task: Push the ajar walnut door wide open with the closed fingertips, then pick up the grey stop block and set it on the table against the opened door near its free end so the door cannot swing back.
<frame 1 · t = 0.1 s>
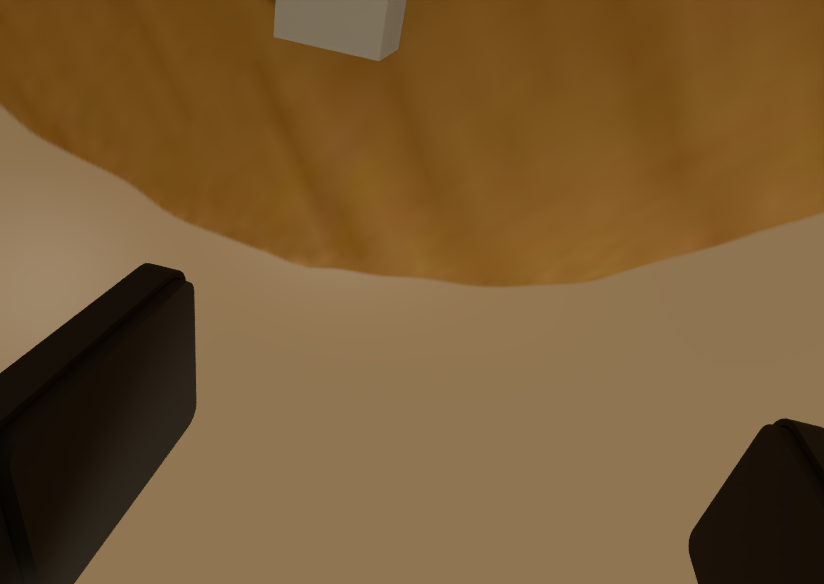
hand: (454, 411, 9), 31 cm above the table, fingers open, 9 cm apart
stop block: (357, 4, 35), on the table
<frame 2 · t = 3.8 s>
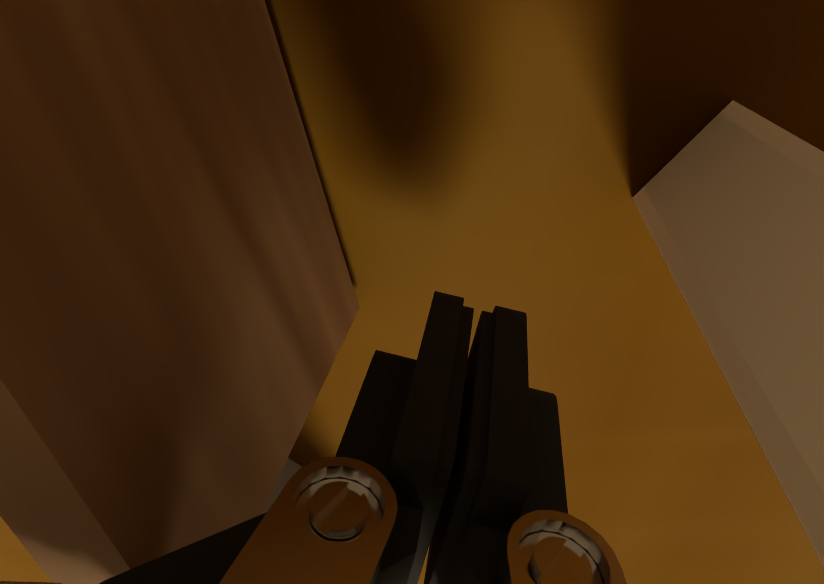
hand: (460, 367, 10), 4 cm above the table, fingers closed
stop block: (265, 490, 19), on the table
door: (78, 93, 8), point 5 cm above the table, hinge at 41.1°, touching gripper
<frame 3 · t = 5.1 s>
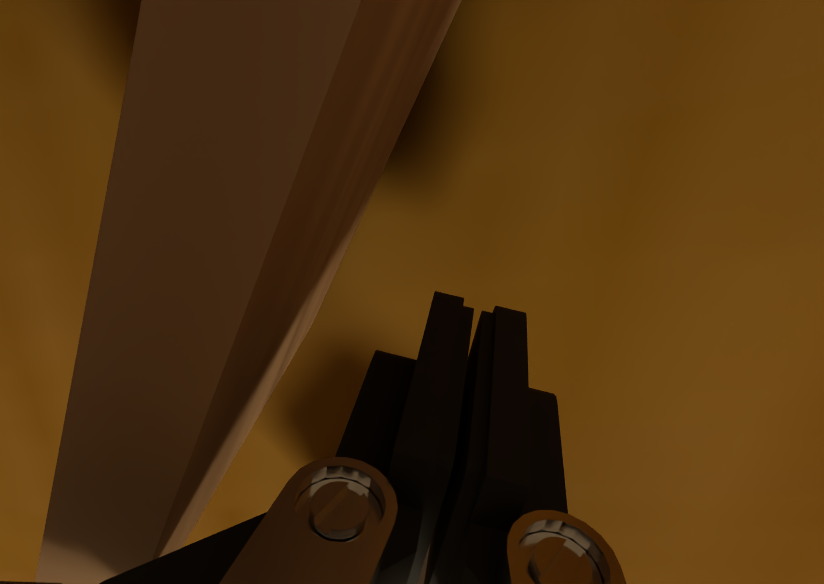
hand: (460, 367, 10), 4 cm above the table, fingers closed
door: (275, 110, 8), point 5 cm above the table, hinge at 79.3°, touching gripper
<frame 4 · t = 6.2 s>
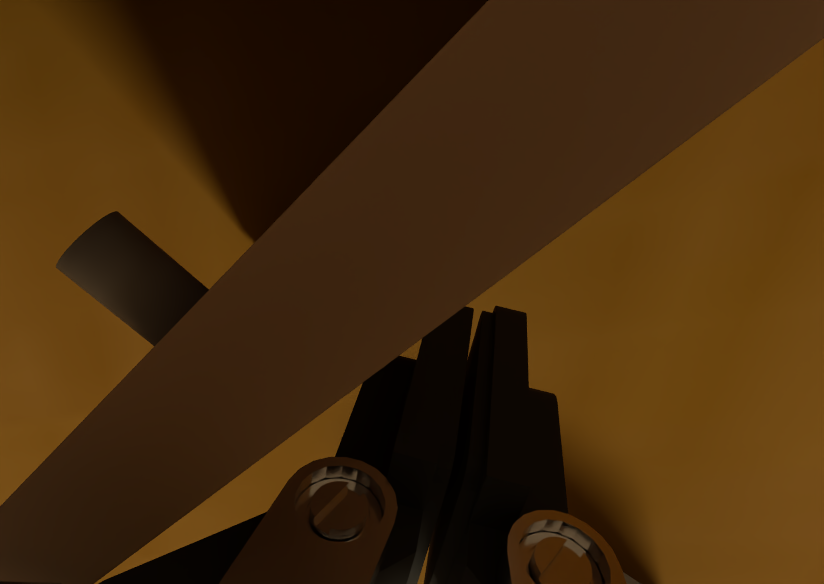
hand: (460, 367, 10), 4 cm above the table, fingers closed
door: (380, 83, 7), point 5 cm above the table, hinge at 99.7°, touching gripper
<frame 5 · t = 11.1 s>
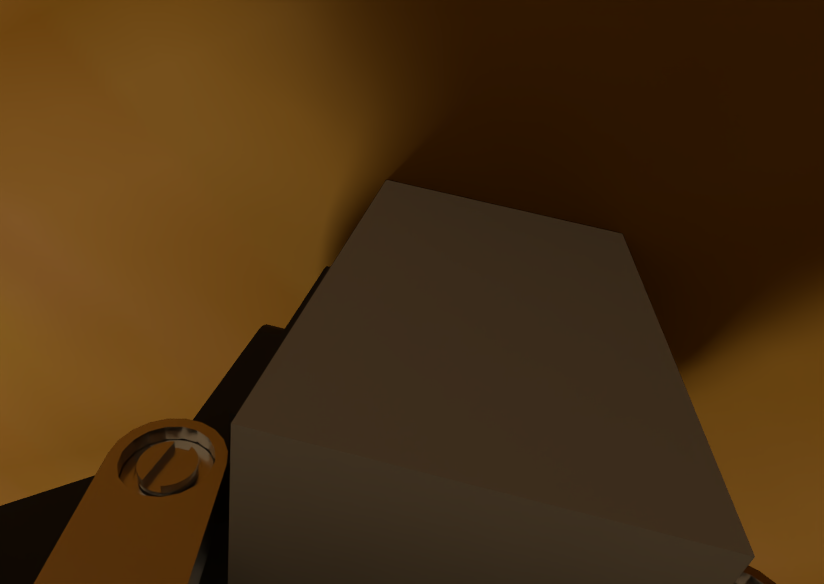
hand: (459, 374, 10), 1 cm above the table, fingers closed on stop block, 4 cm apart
stop block: (463, 349, 11), on the table, touching gripper
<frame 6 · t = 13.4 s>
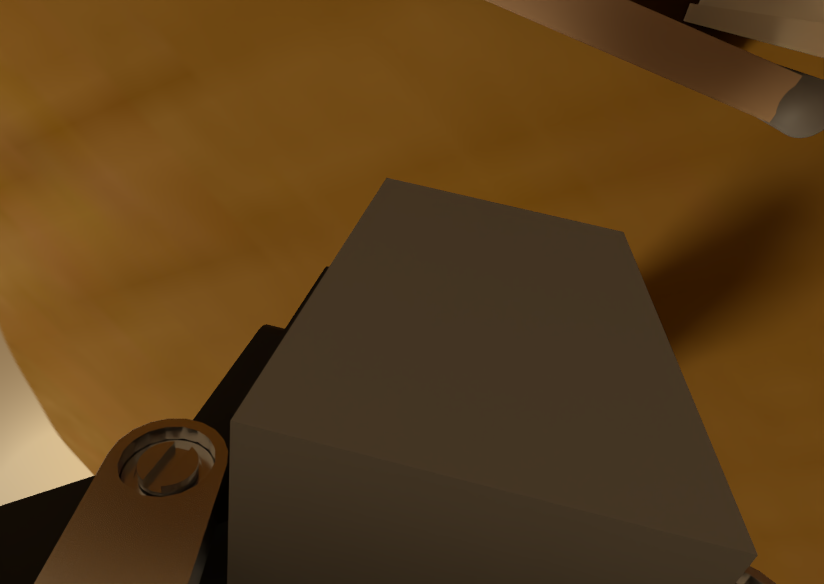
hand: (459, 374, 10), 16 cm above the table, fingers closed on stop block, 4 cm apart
stop block: (463, 348, 11), point 16 cm above the table, touching gripper
wall: (643, 206, 25), on the table
when the fingers open (2 cm above the table, at t = 16.2 s): stop block drops 2 cm, on the table.
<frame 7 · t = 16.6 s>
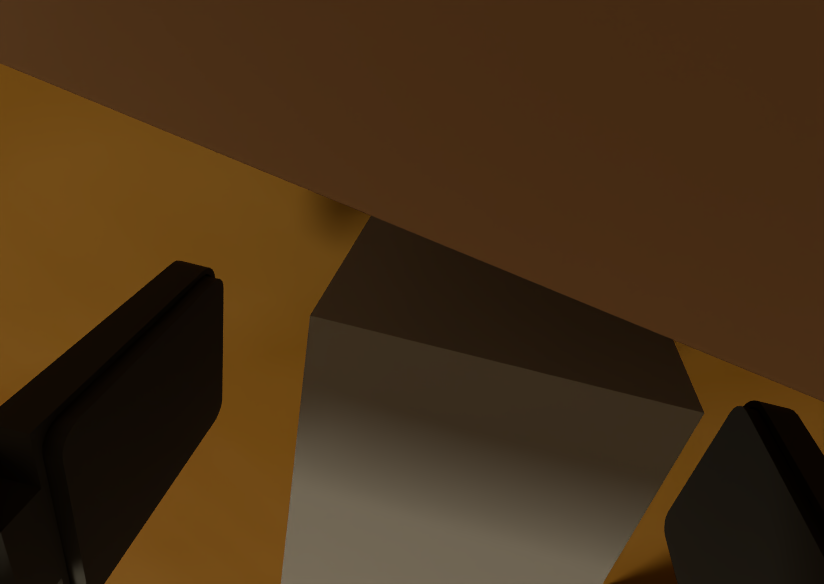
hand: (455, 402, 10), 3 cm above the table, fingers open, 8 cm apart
stop block: (473, 308, 12), on the table
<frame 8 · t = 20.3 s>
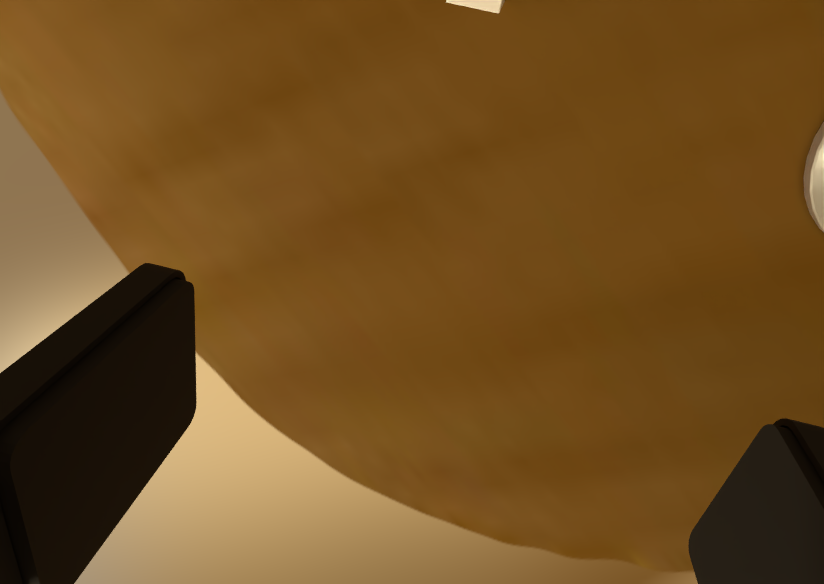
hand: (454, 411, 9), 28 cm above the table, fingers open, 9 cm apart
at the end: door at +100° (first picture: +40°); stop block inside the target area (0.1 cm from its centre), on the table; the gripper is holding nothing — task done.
